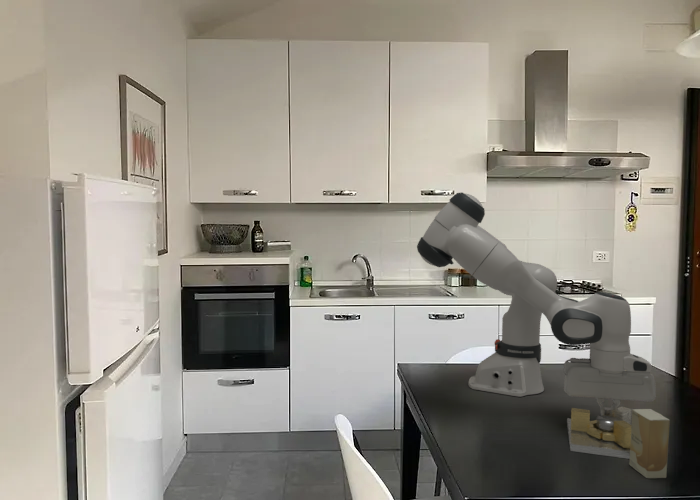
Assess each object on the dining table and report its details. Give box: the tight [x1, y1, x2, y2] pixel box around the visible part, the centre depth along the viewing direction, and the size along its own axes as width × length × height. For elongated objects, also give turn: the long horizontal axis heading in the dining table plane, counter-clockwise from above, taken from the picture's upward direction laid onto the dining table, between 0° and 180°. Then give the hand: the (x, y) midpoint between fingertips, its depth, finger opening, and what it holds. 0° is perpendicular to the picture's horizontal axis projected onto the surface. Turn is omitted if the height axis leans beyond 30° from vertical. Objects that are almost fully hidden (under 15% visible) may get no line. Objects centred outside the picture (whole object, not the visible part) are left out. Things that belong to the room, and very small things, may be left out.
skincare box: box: [629, 408, 671, 479], centre depth 111 cm, size 6×4×12 cm
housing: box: [566, 415, 630, 460], centre depth 126 cm, size 17×17×5 cm
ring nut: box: [570, 405, 632, 448], centre depth 127 cm, size 14×15×4 cm
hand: (607, 415), depth 132 cm, fingers closed
